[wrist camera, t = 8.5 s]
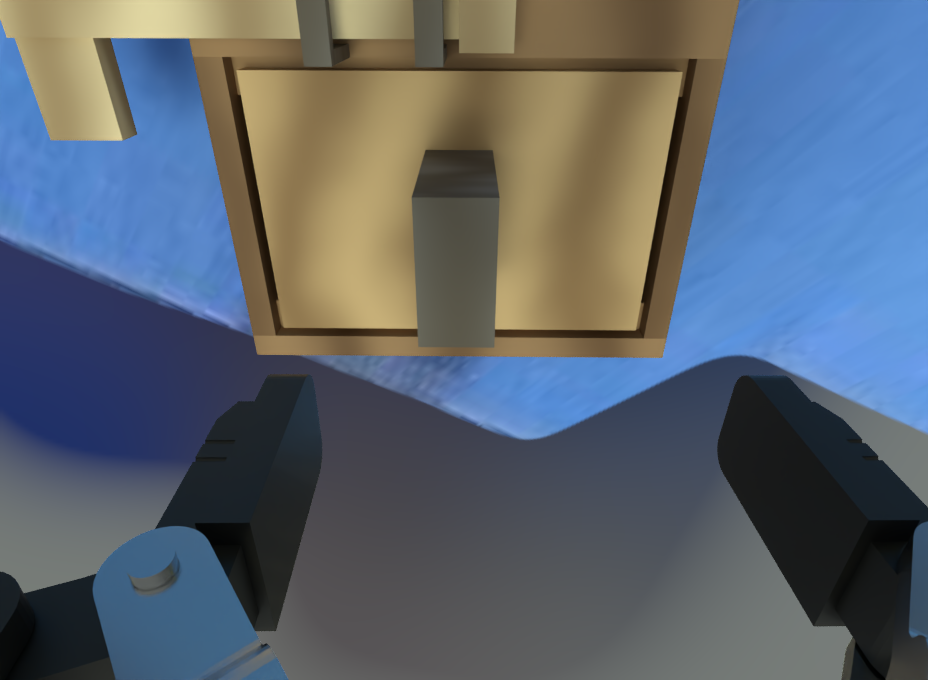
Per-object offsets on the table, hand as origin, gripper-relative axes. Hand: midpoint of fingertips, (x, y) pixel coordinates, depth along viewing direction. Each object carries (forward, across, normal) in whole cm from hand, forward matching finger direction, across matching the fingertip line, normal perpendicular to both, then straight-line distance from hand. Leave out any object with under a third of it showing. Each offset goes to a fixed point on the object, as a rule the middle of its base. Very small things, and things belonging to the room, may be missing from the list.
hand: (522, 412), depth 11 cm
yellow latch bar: (+18, +8, -5) cm, 20 cm away
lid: (+19, +1, +2) cm, 19 cm away
